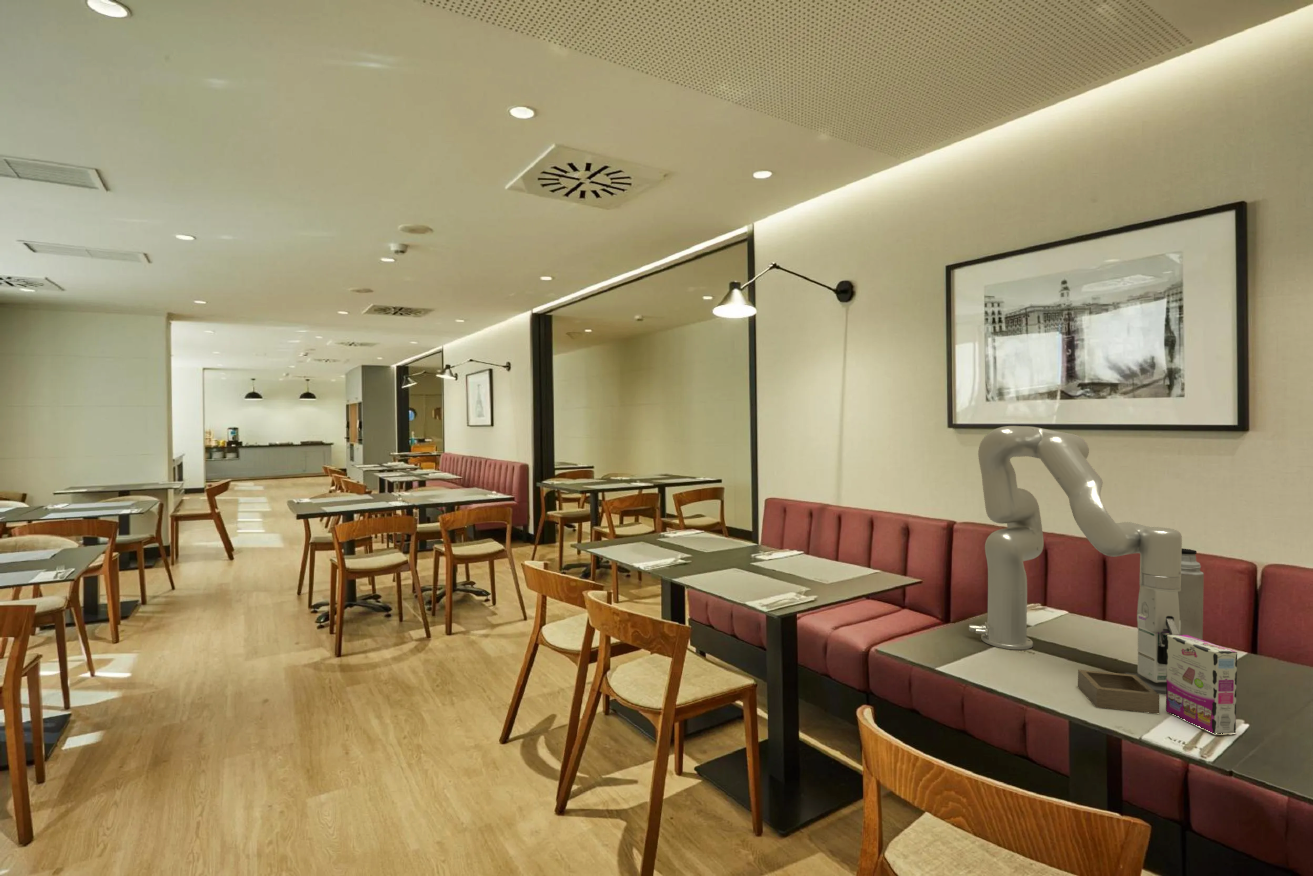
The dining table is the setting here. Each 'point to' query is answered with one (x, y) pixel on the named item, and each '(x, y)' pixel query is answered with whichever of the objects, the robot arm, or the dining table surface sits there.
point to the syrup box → (1150, 653)
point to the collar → (1118, 691)
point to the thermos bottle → (1191, 595)
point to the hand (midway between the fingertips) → (1158, 657)
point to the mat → (1153, 684)
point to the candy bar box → (1201, 683)
